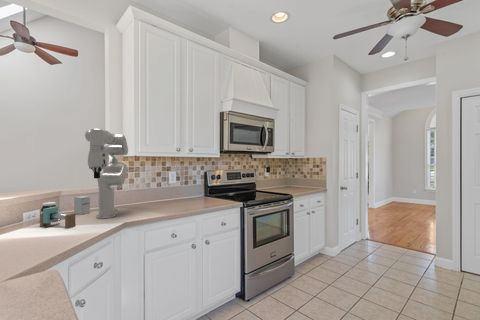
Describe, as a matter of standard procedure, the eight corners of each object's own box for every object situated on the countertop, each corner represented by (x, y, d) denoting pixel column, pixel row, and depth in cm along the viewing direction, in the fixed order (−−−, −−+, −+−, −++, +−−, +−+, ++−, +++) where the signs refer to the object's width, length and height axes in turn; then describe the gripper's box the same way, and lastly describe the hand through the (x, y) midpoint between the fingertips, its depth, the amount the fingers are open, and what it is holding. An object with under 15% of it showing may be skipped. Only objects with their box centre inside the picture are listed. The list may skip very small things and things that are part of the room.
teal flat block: (43, 223, 140) (43, 208, 140) (54, 220, 147) (54, 206, 147) (47, 223, 139) (47, 209, 139) (58, 220, 146) (58, 206, 146)
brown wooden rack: (36, 227, 140) (36, 214, 140) (51, 223, 148) (51, 211, 148) (64, 229, 136) (64, 216, 136) (78, 225, 145) (78, 212, 145)
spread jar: (45, 218, 160) (45, 201, 160) (65, 217, 164) (65, 200, 164) (37, 223, 148) (37, 205, 148) (58, 221, 152) (58, 204, 152)
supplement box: (81, 214, 171) (81, 197, 171) (73, 214, 174) (73, 197, 174) (90, 212, 178) (90, 196, 178) (83, 212, 181) (83, 195, 181)
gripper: (112, 149, 148) (111, 178, 148) (91, 149, 150) (91, 177, 150) (103, 148, 140) (102, 179, 140) (81, 148, 143) (81, 178, 143)
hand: (96, 178), depth 145 cm, fingers closed
